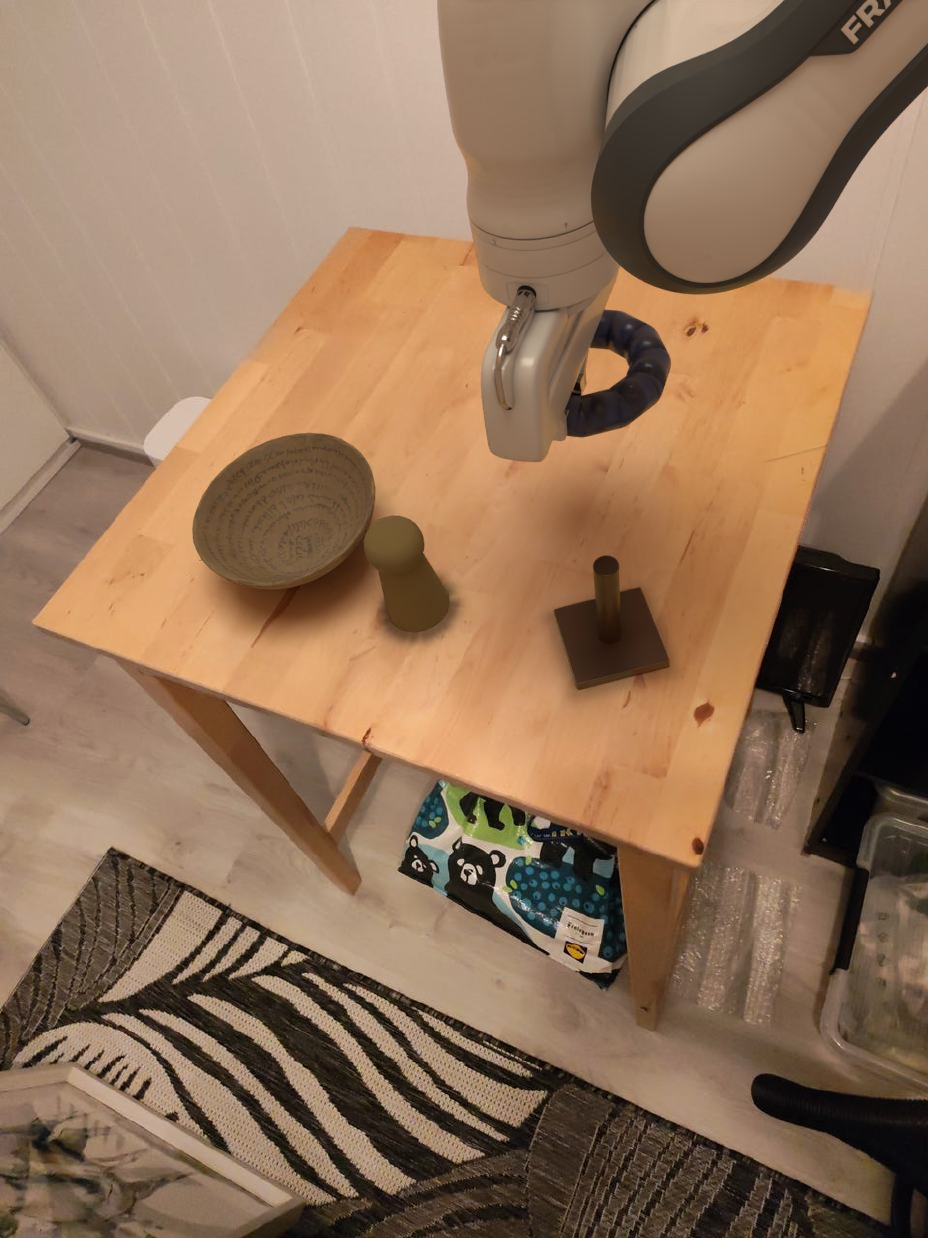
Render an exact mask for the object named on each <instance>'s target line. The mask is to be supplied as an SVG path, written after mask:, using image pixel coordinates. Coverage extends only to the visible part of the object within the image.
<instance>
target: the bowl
mask: <svg viewBox="0 0 928 1238" xmlns="http://www.w3.org/2000/svg"><path fill="white" fill-rule="evenodd" d="M375 504H376V483H375V478H374V473H373V470H372V468H371V466H370V463H369V462H368V460H367V459H366V457H365V456H364V454H363V453H362V452H361V451H360V450H359V449H358V448H357V447H356V446H355V445H353V444H351V443H349V442H347V441H346V440H344V439H342V438H341V437H340V438H339V437H338V436H334V435H331V434H326V433H321V432H320V433H319V432H318V433H317V432H301V433H294V434H293V433H292V434H289V435H288V434H287V435H283V436H282V435H281V436H279V437H276V438H273V439H272V438H271V439H269V440H266V441H265V442H262V443H260V444H258V445H255V446H253V447H252V448H250V449H248V450H247V451H244V452H243V453H242V454H240V455H239V456H238V457H236V458H234V460H232V461H231V462H230V463H228V464H226V466H225V467H224V468H223V469H222V470H221V471H220V472H219V473H218V474H217V475H216V476H214V478H213V479H212V480H211V481H210V483H209V484H208V486H207V487H206V489H205V491H204V492H203V494H202V495H201V498H200V500H199V502H198V505H197V507H196V510H195V513H194V515H193V516H194V517H193V520H192V528H191V529H192V542H193V545H194V548H195V551H196V552H197V555H198V556H199V558H200V560H201V561H202V562H203V563H204V564H205V565H206V566H207V568H209V570H210V571H212V572H213V573H215V574H216V575H218V576H219V577H221V578H223V579H225V580H227V581H229V582H231V583H233V584H236V585H240V586H243V587H248V588H252V589H259V590H260V589H261V590H280V589H283V590H284V589H289V588H290V589H291V588H295V587H299V586H302V585H305V584H308V583H310V582H313V581H316V580H318V579H320V578H321V577H324V576H325V575H327V574H329V573H330V572H331V571H334V569H336V568H337V567H339V566H340V565H341V564H342V563H343V562H345V560H346V559H347V558H348V557H349V556H350V555H351V554H352V553H353V552H354V550H355V549H356V548H357V547H358V546H359V544H360V543H361V541H362V540H363V538H364V537H365V535H366V533H367V531H368V529H369V526H370V524H371V521H372V519H373V514H374V510H375Z"/></svg>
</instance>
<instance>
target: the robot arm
mask: <svg viewBox="0 0 928 1238" xmlns="http://www.w3.org/2000/svg"><path fill="white" fill-rule="evenodd" d="M436 11H437V12H436V13H437V30H438V41H439V49H440V58H441V65H442V73H443V80H444V81H443V82H444V88H445V94H446V100H447V101H446V102H447V106H448V113H449V118H450V124H451V129H452V133H453V138H454V140H455V143H456V146H457V147H458V150H459V151H460V153H461V155H462V157H463V160H464V163H465V167H466V172H467V185H466V193H465V196H466V197H465V200H466V211H467V215H468V221H469V227H470V232H471V237H472V238H471V239H472V244H473V248H474V253H475V259H476V264H477V271H478V275H479V280H480V284H481V286H482V288H483V290H484V291H485V292H486V294H487V295H488V296H489V297H490V298H492V299H493V300H494V301H496V302H498V303H500V304H501V305H504V306H506V307H505V309H504V312H503V313H502V315H501V318H500V319H499V322H498V323H497V325H496V328H495V330H494V332H493V333H492V336H491V338H490V340H489V342H488V344H487V346H486V349H485V352H484V354H483V358H482V361H481V368H480V392H481V393H480V396H481V403H482V412H483V421H484V427H485V434H486V435H485V436H486V440H487V445H488V449H489V451H490V453H491V454H492V455H494V457H497V458H500V459H504V460H509V461H515V462H521V463H522V462H524V463H540V462H544V460H545V459H546V458H547V456H548V454H549V451H550V449H551V446H552V443H553V441H555V442H564V441H565V440H566V438H567V437H568V436H567V433H568V431H569V428H570V425H571V421H570V411H569V410H566V409H565V408H566V406H567V403H568V401H569V398H570V395H579V396H582V395H584V394H583V393H584V391H585V389H586V386H587V366H588V365H587V364H588V358H589V352H590V349H591V348H590V345H591V343H592V340H593V337H594V335H595V332H596V330H597V327H598V325H599V322H600V320H601V317H602V315H603V312H604V310H606V307H607V305H608V303H609V300H610V297H611V295H612V293H613V290H614V287H615V284H616V283H617V279H618V276H619V271H620V269H621V268H622V269H623V270H624V271H625V272H627V273H628V274H629V275H631V276H633V277H634V278H635V279H638V280H640V282H643V283H645V284H647V285H649V286H652V287H654V288H656V289H659V290H663V291H666V292H671V293H676V294H683V295H692V296H693V295H694V296H695V295H698V296H700V295H701V296H702V295H703V296H704V295H715V294H720V293H726V292H730V291H735V290H737V289H740V288H742V287H746V286H748V285H752V284H754V283H756V282H758V281H761V280H762V279H764V278H766V277H768V276H770V275H772V274H773V273H775V272H777V271H779V270H780V269H781V268H783V267H784V266H785V265H787V264H788V263H789V262H790V261H792V260H793V259H794V258H795V257H796V256H797V255H798V254H800V252H802V251H803V250H804V249H805V248H806V246H807V245H808V244H809V243H810V242H811V241H812V239H813V238H814V236H815V235H816V234H817V233H818V232H819V230H820V229H821V227H822V226H823V224H824V223H825V221H826V220H827V218H828V217H829V216H830V214H831V212H832V210H833V209H834V207H835V205H836V204H837V202H838V200H839V199H840V197H841V196H842V193H843V192H844V190H845V188H846V186H847V185H848V183H849V182H850V180H851V178H852V177H853V176H854V174H855V172H856V170H857V169H858V167H859V166H860V165H861V163H862V161H863V160H864V159H865V157H866V156H867V155H868V153H869V152H870V151H871V149H872V148H873V147H874V145H875V144H876V143H877V142H878V141H879V139H880V138H881V137H882V136H883V134H884V133H885V132H886V131H887V130H888V129H889V128H890V126H891V125H892V124H894V123H895V121H896V120H897V119H898V118H899V117H900V116H901V115H902V113H904V111H906V110H907V109H908V107H909V106H910V105H911V104H912V103H913V102H914V101H915V100H916V99H917V98H918V97H919V96H920V95H921V94H922V93H923V92H924V91H925V90H926V89H927V88H928V0H436Z"/></svg>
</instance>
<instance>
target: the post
mask: <svg viewBox="0 0 928 1238" xmlns="http://www.w3.org/2000/svg"><path fill="white" fill-rule="evenodd" d="M592 575H593V576H592V577H593V588H594V598H591V599H587V600H583V601H580V602H576V603H572V604H569V605H565V606H564V605H563V606H560V607H557V608H554V609H553V615H554V619H555V621H556V625H557V628H558V631H559V634H560V637H561V641H562V644H563V648H564V650H565V654H566V657H567V661H568V664H569V667H570V670H571V674H572V676H573V680H574V683H575V686H576V689H577V690H578V691H579V690H582V689H586V688H591V687H595V686H598V685H603V684H606V683H610V682H613V681H618V680H622V679H625V678H630V677H634V676H637V675H641V674H645V673H649V672H653V671H656V670H662V669H665V668H668V667H670V661H671V660H670V657H669V655H668V653H667V650H666V648H665V645H664V643H663V640H662V638H661V635H660V632H659V630H658V628H657V624H656V622H655V620H654V618H653V615H652V613H651V610H650V607H649V604H648V603H647V600H646V598H645V595H644V592H643V590H642V587H641V586H638V587H634V588H630V589H625V590H623V591H621V578H620V575H621V574H620V562H619V560H618V559H617V558H616V557H614V556H612V555H601V556H598V557H597V558H596V559H595V560H594V562H593V563H592Z"/></svg>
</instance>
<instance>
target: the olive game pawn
mask: <svg viewBox="0 0 928 1238" xmlns="http://www.w3.org/2000/svg"><path fill="white" fill-rule="evenodd" d="M363 538H364V539H363V552H364V556H365V557H366V559H367V562H368V563H369V565H370V566H372V568H374V569H375V570H376V571H377V573H378V577H379V581H380V587H381V590H382V594H383V598H384V602H385V608H386V611H387V616H388V618H389V620H390V622H391V623H392V624H393V625H394V626H395V627H397V629H400V630H402V631H405V632H413V633H414V632H415V633H417V632H422V631H426V630H429V629H431V628H433V627H435V626H437V624H439V623H440V622H441V621H442V620H443V619H444V617H445V616H446V614H448V613H447V612H448V611H449V607H450V596H449V592H448V591H447V589H446V588H445V586H444V585H443V583H442V581H441V580H440V578H439V576H438V575H437V573H436V571H435V569H434V568H433V566H432V565H431V562H430V561H429V559H428V558H427V557H426V555H425V553H424V551H425V539H424V534H423V532H422V530H421V529H420V527H419V525H418V524H417V523H416V522H414V521H413V520H412V519H410V518H408V517H406V516H402V515H388V516H384V517H382V518H379V519H377V520H376V521H374V522H373V523H372V524H371V525H370V527H368V529H367V531H366V533H365V535H364V537H363Z"/></svg>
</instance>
